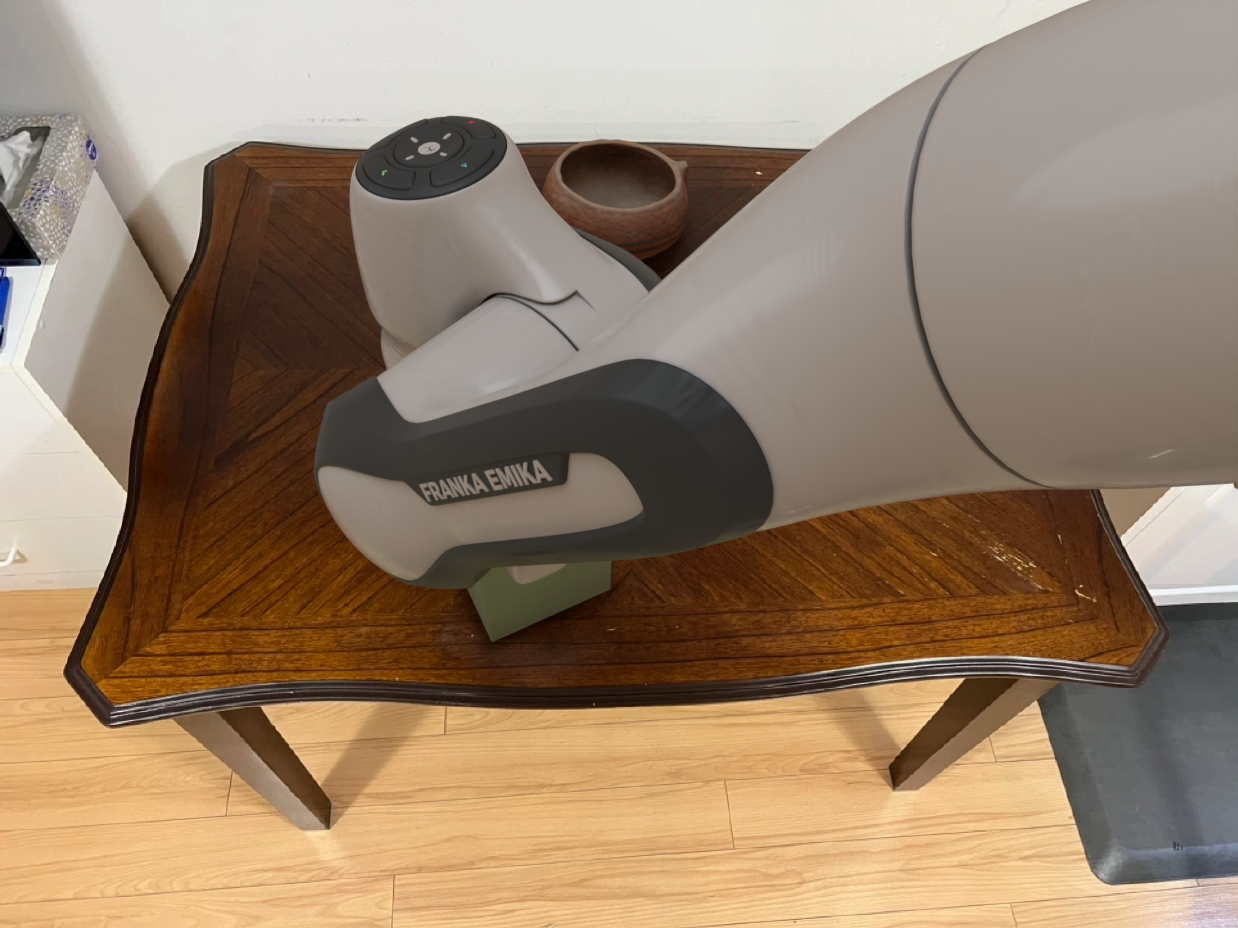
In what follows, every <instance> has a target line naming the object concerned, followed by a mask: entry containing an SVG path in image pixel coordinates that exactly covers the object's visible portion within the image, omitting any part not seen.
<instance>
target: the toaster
mask: <svg viewBox="0 0 1238 928" xmlns="http://www.w3.org/2000/svg"><path fill="white" fill-rule="evenodd" d="M611 581H612V561H601V562H584V563H567V564H566V565H565V566H564V567H563V568H562V569H560V570H559V571H557V572H555V573H553V574H551V575H549V576H546V577H544V578H542V579H539V580H537V581H534V582H531V583H528V584H518V583H517V582H515V581H514V580H513V579H512V578H511V576H510V574H509V572H508V570H507V568H506V567H497V568H492V569H491V570H490V571H489V572H488V573H487V574H485V575H484V576H483V577H482V578H481V579H480V580H479V581H478V582H477V583H476V584H475V585H474V586H473V587H471V588H467V589H466V590H467V592H468V594H469V596H470V598H471V600H472V602H473V605H474V607H475V609H476V612H477V613H478V615H479V618H480V620H481V622H482V624H483V626H484V629H485V630H486V633H487V635H488V637H489V639H490V641H491V642H492V643H493V642H496V641H498V640H500V639H502V638H505V637H507V636H510V635H511V634H514V633H516V632H519V631H520V630H523V629H525V628H527V627H530V626H531V625H532V626H533V625H534V624H536V623H539V622H541V621H543V620H545V619H547V618H549V617H552V616H554V615H556V614H559V613H561V612H563V611H565V610H567V609H570V608H572V607H574V606H576V605H579V604H581V603H583V602H585V601H587V600H590V599H592V598H594V597H596V596H598V595H601V594H603V593H605V592H607V591H610V590H611V585H612V584H611Z"/></svg>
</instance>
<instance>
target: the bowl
mask: <svg viewBox="0 0 1238 928" xmlns="http://www.w3.org/2000/svg"><path fill="white" fill-rule="evenodd" d="M689 169H690V166H689V165H688V163H687V161H686V160H679V161H678V160H677V161H676V160H675V159H672V158H670V157H669V156H668V155H666V154H664V153H663V152H662V151H660V150H658V149H655V148H653V147H651V146H648V145H645V144H642V143H638V142H633V141H629V140H624V139H618V138H615V139H614V138H613V139H607V138H599V139H593V140H585V141H580V142H578V143H576V144H574V145H572V146H570V147H568V148H566V150H565V151H563V152H562V153H561V154H560V155H559V156H558V157H557V158H556V160H555V161H554V162H553V165H552V166H551V168H550V170H549V171H548V174H547V176H546V178H545V181H544V184H543V187H542V190H541V192H542V193H541V194H542V196H543V197H544V198H545V200H546V201H547V202H548V203H549V205H550V206H551V207H552V208H553V209H554V210H555V211H556V212H557V213H558V214H559V216H560V217H561V218H562V219H563V220H564V221H565V222H566V223H567V224H568V225H570V226H572V227H575V228H577V229H580V230H582V231H584V232H586V233H589V234H591V235H593V236H595V237H598V238H600V239H602V240H605V241H607V242H609V243H612V244H614V245H616V246H618V247H620V248H622V249H624V250H626V251H628V252H629V253H631V254H632V255H634V256H635V257H637V258H638V259H639V260H641V261H643V260H646V259H649V258H651V257H653V256H655V255H658V254H659V253H661V252H664V251H665V250H667V249H669V248H670V247H671V246H672V245H674V244H675V243H676V242H677V241H678V240H679V239H680V237H681V235H682V234H683V233H684V230H685V229H686V225H687V222H688V217H689V205H690V204H689V196H688V195H689V194H688V190H687V184H688V176H689V174H688V173H689Z"/></svg>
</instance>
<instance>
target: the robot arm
mask: <svg viewBox="0 0 1238 928" xmlns="http://www.w3.org/2000/svg"><path fill="white" fill-rule="evenodd" d="M350 177H351V178H350V184H349V213H350V215H349V216H350V223H351V225H350V226H351V231H352V232H351V233H352V239H353V246H354V251H355V257H356V260H357V266H358V270H359V274H360V278H361V283H362V287H363V290H364V294H365V298H366V301H367V305H368V307H369V310H370V312H371V314H372V316H373V318H374V319H375V320H376V324H377V326H378V329H379V331H380V348H381V355H382V358H383V362H384V366H385V369H386V370H384V371H383V372H381V373H380V374H379V375H377V376H376V375H372V376H370V377H368V378H367V379H365V380H364V381H361V382H360V383H358V384H357V385H355V386H353V387H351V388H350V389H348V390H347V391H345V392H343V393H341V394H340V395H338V396H336V397H335V398H333V399H331V400H330V401H328V402H327V403H326V407H325V409H324V413H323V416H322V420H321V423H320V427H319V431H318V434H317V435H318V436H317V440H316V444H315V445H316V447H315V453H314V461H313V464H314V465H313V478H314V482H315V486H316V488H317V490H318V493H319V495H320V497H321V499H322V501H323V503H324V505H325V506H326V508H327V510H328V511H329V514H330V516H331V517H332V519H333V520H334V522H335V523H336V525H337V526H338V528H339V529H340V531H341V532H342V533H343V535H344V536H345V537H346V538H347V539H348V541H349V542H350V543H351V544H352V546H353V547H354V548H356V550H357V551H359V552H360V554H362V555H363V556H364V557H365V558H366V559H367V560H369V562H371V563H372V564H374V565H375V566H376V567H378V568H379V569H380V570H382V571H383V572H385V574H386V575H388V576H390V577H392V578H393V579H395V580H396V581H398V582H400V583H403V584H406V585H409V586H414V587H419V588H427V589H435V590H464V589H465V590H467V588H471V587H473V586H474V585H475V584H476V583H477V582H478V581H479V580H480V579H481V578H482V577H483V576H484V575H485V574H487V573H488V572H489V571H490V570H491V569H492V568H497V567H506V568H507V570H508V572H509V574H510V576H511V578H512V579H513V580H514V581H515V582H517V583H518V584H528V583H531V582H534V581H537V580H539V579H542V578H544V577H546V576H549V575H551V574H553V573H555V572H557V571H559V570H560V569H562V568H563V567H564V566H565V565H566V564H567V563H584V562H601V561H611V562H615V561H629V560H639V559H647V558H656V557H664V556H671V555H676V554H681V553H684V552H685V553H686V552H688V551H692V550H696V549H699V548H705V547H709V546H713V545H718V544H722V543H725V542H729V541H733V540H738V539H742V538H745V537H748V536H750V535H751V534H753V533H757V532H763V531H769V530H772V529H776V528H781V527H786V526H789V525H793V524H797V523H801V522H806V521H809V520H813V519H817V518H822V517H825V516H826V517H827V516H831V515H836V514H841V513H845V512H850V511H855V510H860V509H865V508H866V509H867V508H873V507H879V506H885V505H891V504H898V503H904V502H910V501H919V500H925V499H934V498H941V497H948V496H957V495H969V494H981V493H993V492H994V493H995V492H1007V491H1035V490H1037V491H1038V490H1139V489H1161V488H1163V489H1164V488H1180V487H1183V488H1184V487H1197V486H1198V487H1199V486H1200V487H1201V486H1219V485H1231V484H1232V485H1233V488H1234V489H1236V490H1238V0H1087V1H1083V2H1082V3H1079V4H1077V5H1074V6H1071V7H1069V8H1066V9H1063V10H1061V11H1059V12H1057V13H1055V14H1053V15H1050V16H1048V17H1045V18H1043V19H1041V20H1038V21H1036V22H1034V23H1031V24H1029V25H1027V26H1025V27H1022V28H1020V29H1018V30H1015V31H1013V32H1011V33H1008V34H1006V35H1004V36H1002V37H1000V38H997V40H995V41H992V42H989V43H987V44H984V45H982V46H980V47H978V48H976V49H974V50H971V51H970V52H967V53H966V54H964V55H962V56H959V57H957V58H955V59H953V60H951V61H949V62H946V63H945V64H942V65H941V66H939V67H937V68H936V69H933V70H932V71H930V72H927V73H926V74H925V75H923V76H921V77H919V78H917V79H915V80H914V81H912V82H910V83H909V84H907V85H905V86H903V87H901V88H900V89H898V90H897V91H895V92H894V93H891V94H890V95H888V96H887V97H886V98H884V99H883V100H881V101H880V102H877V103H876V104H875V105H873V106H871V107H870V108H868V109H867V110H865V111H864V112H862V113H861V114H859V115H858V116H857V117H855V118H854V119H852V120H851V121H849V122H848V123H846V124H845V125H843V126H842V127H841V128H839V129H837V131H835V132H834V133H833V134H831V135H829V136H828V137H827V138H826V139H825V140H823V141H821V142H820V143H818V144H817V145H816V146H815V147H814V148H812V149H811V150H810V151H809V152H807V153H806V154H805V155H803V156H802V157H801V158H800V159H799V160H797V161H796V162H795V163H794V164H792V165H791V166H790V167H789V168H787V170H785V171H784V172H783V173H782V174H780V175H779V176H778V177H777V178H776V179H774V181H772V182H771V183H770V184H769V185H767V186H766V187H765V188H764V189H763V190H761V192H760V193H758V194H757V195H755V197H754V198H752V199H751V200H750V201H749V202H748V203H747V204H746V205H744V206H743V207H742V208H741V209H740V210H739V211H738V212H736V213H735V214H734V215H733V216H732V217H730V218H729V219H728V220H727V221H726V222H725V223H724V224H723V225H722V226H721V227H720V228H718V230H716V231H715V232H714V233H713V234H711V235H710V236H709V237H708V238H707V239H706V240H705V241H704V242H702V244H700V245H699V246H698V247H697V248H696V249H695V250H694V251H692V253H690V254H689V256H687V257H686V258H685V259H684V260H683V261H682V262H681V263H680V264H678V265H677V266H676V267H675V268H674V269H672V271H671V272H670V273H669V274H667V275H666V276H665V277H664V278H663V279H662V278H661V277H660V276H659V275H658V274H657V273H656V272H655V271H654V270H653V269H652V268H650V267H649V266H648V265H647V264H645V263H644V262H643V260H639V259H638V258H637V257H635V256H634V255H632V254H631V253H629V252H628V251H626V250H624V249H622V248H620V247H618V246H616V245H614V244H612V243H609V242H607V241H605V240H602V239H600V238H598V237H595V236H593V235H591V234H589V233H586V232H584V231H582V230H580V229H577V228H575V227H572V226H570V225H568V224H567V223H566V222H565V221H564V220H563V219H562V218H561V217H560V216H559V214H558V213H557V212H556V211H555V210H554V209H553V208H552V207H551V206H550V205H549V203H548V202H547V201H546V200H545V198H544V197H543V196H542V193H541V192H540V190H539V188H538V187H537V185H536V183H535V181H534V180H533V177H532V175H531V174H530V172H529V169H528V167H527V165H526V163H525V160H524V158H523V156H522V154H521V152H520V150H519V148H518V146H517V145H516V143H515V141H514V140H513V139H512V138H511V137H510V135H509V134H508V133H507V131H505V130H504V129H502V128H500V127H499V126H497V125H496V124H494V123H493V122H491V121H488V120H486V119H482V118H478V117H472V116H465V115H446V116H436V117H430V118H422V119H420V120H419V119H418V120H417V121H414V122H412V123H409V124H407V125H406V126H403V127H401V128H399V129H397V130H395V131H393V132H392V133H389V134H387V135H386V136H384V137H383V138H381V139H380V140H378V141H377V142H375V143H374V144H372V145H371V146H369V147H368V148H367V149H366V150H365V151H364V152H363V153H362V154H361V155H360V156H359V157H358V158H357V161H356V163H355V165H354V167H353V170H352V173H351V176H350Z"/></svg>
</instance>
